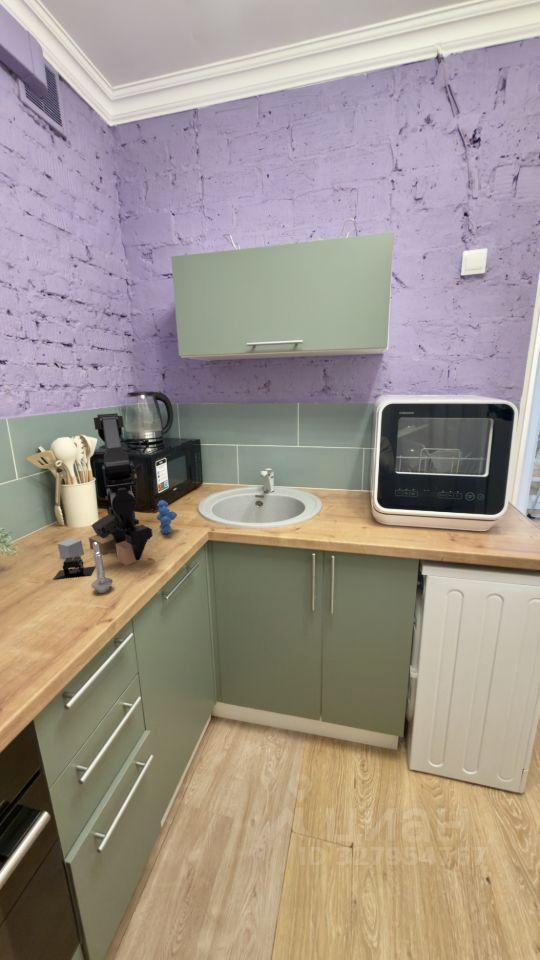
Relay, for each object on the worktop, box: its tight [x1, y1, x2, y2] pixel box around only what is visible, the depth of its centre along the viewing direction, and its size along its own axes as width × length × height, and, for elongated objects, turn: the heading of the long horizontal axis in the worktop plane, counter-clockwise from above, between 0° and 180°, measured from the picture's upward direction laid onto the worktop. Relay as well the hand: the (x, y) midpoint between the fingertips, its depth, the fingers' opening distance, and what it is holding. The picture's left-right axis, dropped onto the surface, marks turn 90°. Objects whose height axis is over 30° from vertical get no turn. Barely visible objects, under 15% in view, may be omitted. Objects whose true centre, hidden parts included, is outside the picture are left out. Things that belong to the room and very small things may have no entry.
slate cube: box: [57, 537, 84, 560], centre depth 117 cm, size 4×4×4 cm
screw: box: [90, 542, 114, 594], centre depth 96 cm, size 13×5×5 cm
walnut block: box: [88, 534, 117, 556], centre depth 122 cm, size 8×8×4 cm
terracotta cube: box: [116, 540, 144, 566], centre depth 113 cm, size 5×5×5 cm
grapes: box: [156, 499, 178, 535], centre depth 130 cm, size 12×7×12 cm, turn 21°
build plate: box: [52, 555, 96, 581], centre depth 106 cm, size 12×7×5 cm, turn 100°
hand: (129, 555), depth 114 cm, fingers open, 9 cm apart
